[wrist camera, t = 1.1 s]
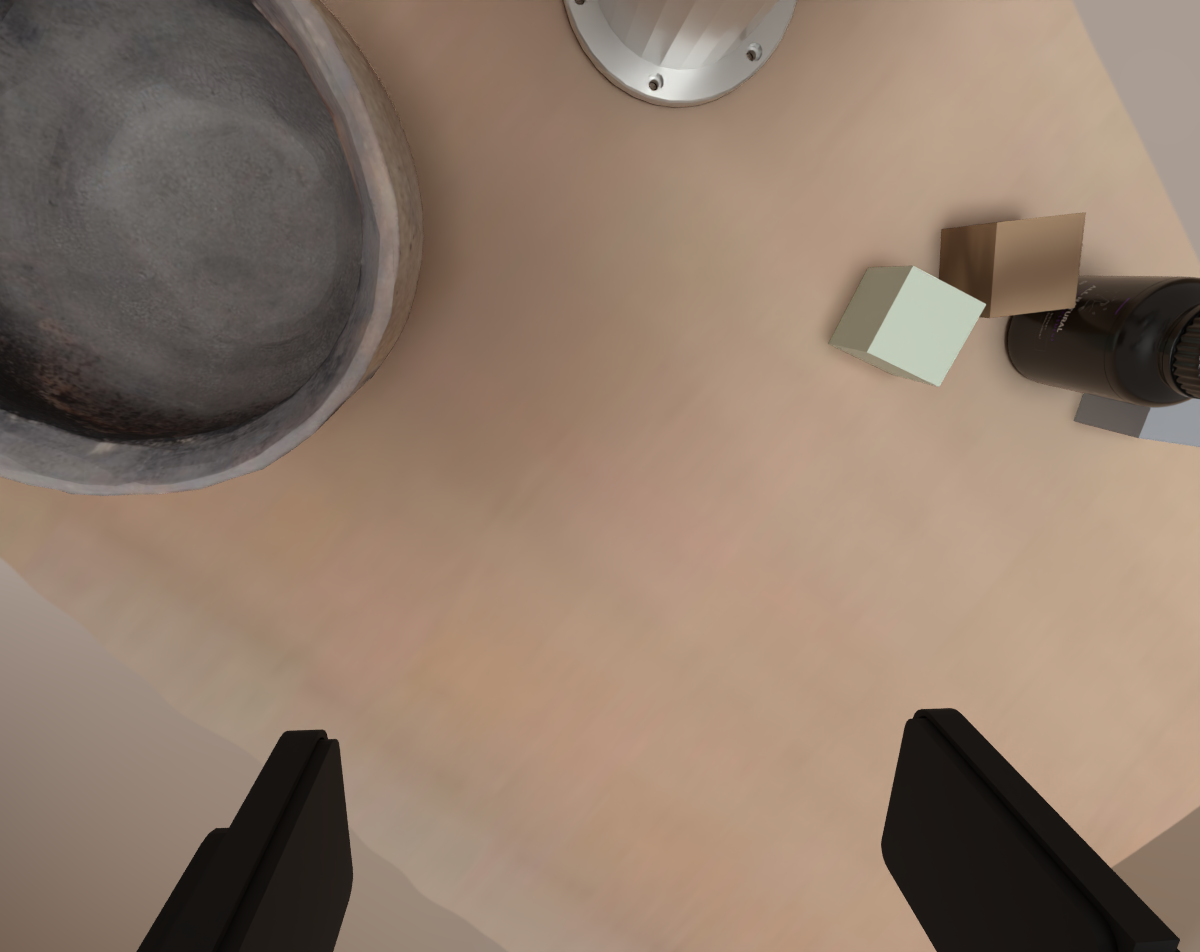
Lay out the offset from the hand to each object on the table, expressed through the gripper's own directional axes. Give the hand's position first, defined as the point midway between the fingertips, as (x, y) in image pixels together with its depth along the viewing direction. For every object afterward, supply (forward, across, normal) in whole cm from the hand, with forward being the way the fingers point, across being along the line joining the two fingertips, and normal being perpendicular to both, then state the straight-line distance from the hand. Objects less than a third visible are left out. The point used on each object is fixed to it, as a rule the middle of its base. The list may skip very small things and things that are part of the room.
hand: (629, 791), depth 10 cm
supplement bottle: (+31, -32, -6) cm, 45 cm away
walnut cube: (+31, -26, -9) cm, 41 cm away
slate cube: (+31, -38, -2) cm, 49 cm away
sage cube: (+31, -20, -6) cm, 37 cm away
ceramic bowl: (+31, +18, -10) cm, 37 cm away
